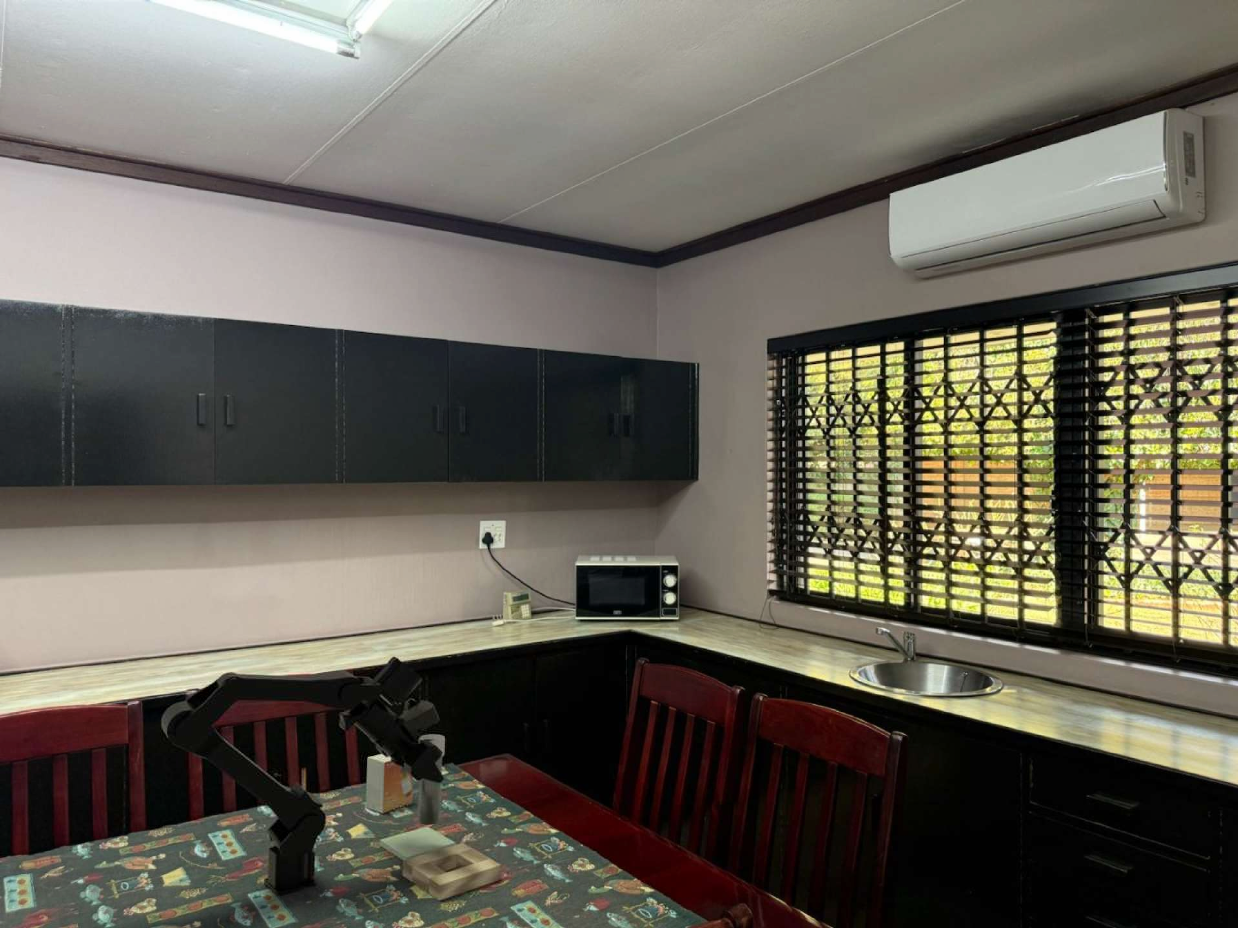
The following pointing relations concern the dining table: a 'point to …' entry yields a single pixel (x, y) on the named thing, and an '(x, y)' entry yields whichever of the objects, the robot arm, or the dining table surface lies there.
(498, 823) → the dining table surface
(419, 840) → the pad
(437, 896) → the socket block
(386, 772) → the small box
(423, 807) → the dome-ended metal peg
